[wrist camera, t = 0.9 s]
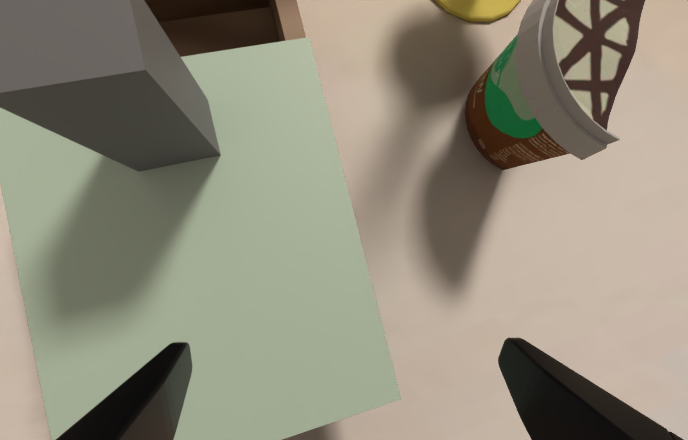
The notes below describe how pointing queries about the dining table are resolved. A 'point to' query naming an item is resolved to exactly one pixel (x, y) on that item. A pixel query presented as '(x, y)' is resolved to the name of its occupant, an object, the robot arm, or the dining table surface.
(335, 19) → the dining table surface
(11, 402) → the dining table surface
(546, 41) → the food container
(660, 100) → the dining table surface
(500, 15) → the candle
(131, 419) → the robot arm
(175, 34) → the walnut box
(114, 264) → the lid
